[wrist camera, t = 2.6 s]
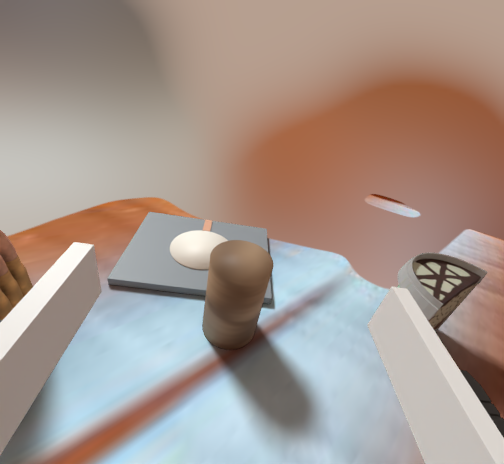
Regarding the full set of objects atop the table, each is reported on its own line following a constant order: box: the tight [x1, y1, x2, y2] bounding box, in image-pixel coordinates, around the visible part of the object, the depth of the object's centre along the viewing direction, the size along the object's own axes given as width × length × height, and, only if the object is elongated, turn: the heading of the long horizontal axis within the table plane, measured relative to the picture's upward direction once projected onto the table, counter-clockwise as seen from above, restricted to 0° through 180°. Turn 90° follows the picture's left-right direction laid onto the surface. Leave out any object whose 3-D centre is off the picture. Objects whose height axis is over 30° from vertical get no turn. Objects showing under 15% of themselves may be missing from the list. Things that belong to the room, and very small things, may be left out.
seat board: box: [108, 212, 272, 304], centre depth 41 cm, size 20×16×1 cm
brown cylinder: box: [202, 240, 273, 350], centre depth 29 cm, size 6×6×10 cm
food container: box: [398, 253, 488, 331], centre depth 34 cm, size 12×6×10 cm, turn 123°
